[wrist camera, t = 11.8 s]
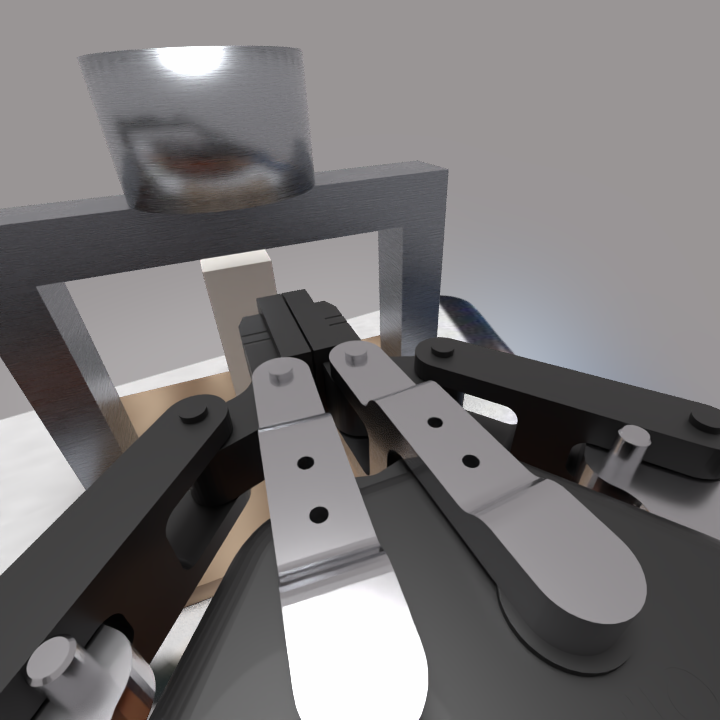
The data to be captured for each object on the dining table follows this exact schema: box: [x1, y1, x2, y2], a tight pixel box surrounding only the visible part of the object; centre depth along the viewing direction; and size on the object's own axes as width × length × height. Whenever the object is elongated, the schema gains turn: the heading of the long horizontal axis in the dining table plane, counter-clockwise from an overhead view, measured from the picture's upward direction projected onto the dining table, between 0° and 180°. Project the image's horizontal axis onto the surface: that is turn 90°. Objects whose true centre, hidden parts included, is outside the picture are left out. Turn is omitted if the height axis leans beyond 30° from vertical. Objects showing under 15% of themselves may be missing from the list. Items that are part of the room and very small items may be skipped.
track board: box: [120, 335, 381, 608], centre depth 34 cm, size 27×21×2 cm
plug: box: [200, 249, 277, 396], centre depth 36 cm, size 5×6×12 cm
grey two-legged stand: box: [0, 46, 448, 490], centre depth 26 cm, size 26×10×24 cm, turn 111°
